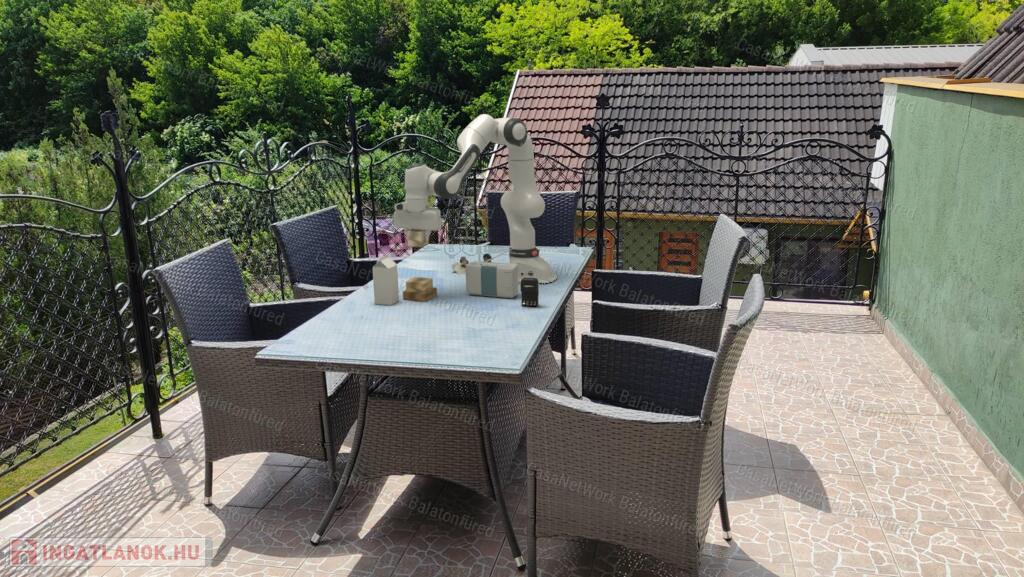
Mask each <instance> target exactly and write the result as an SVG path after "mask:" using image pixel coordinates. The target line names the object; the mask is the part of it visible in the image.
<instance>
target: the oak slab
mask: <svg viewBox="0 0 1024 577" xmlns="http://www.w3.org/2000/svg"><path fill="white" fill-rule="evenodd" d="M433 280H434V279H433V278H432V277H431V278H430V277H420V276H418V277H417V276H414V277H412V278H411V279H408V280H406V281H405V290H406V291H409V292H421V293H425V292H427V291H428V290H430V289H432V288H433V287H434V282H433Z"/></svg>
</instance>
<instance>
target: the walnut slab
mask: <svg viewBox="0 0 1024 577" xmlns="http://www.w3.org/2000/svg"><path fill="white" fill-rule="evenodd" d="M434 297H435V298H437V297H438V288H437V287H434V286H433V288H432V289H430V290H428V291H427V292H425V293H421V292H409V291H406V289H405V290H403V291H402V298H403V299H402V300H403V301H410V302H418V303H419V302H420V303H427V302H429V301H430V300H432V299H435V298H434Z"/></svg>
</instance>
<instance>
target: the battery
mask: <svg viewBox="0 0 1024 577" xmlns="http://www.w3.org/2000/svg"><path fill="white" fill-rule="evenodd" d="M519 287H520V292H521V293H520V294H521V306H522V307H526V306H537V307H538V306H539V305H540V304H539V303H540V302H539V301H540V300H539V298H540V284H539V280H538V278H536V277H523V278H522V280H521V283H520V286H519Z"/></svg>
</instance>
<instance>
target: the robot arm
mask: <svg viewBox="0 0 1024 577" xmlns="http://www.w3.org/2000/svg"><path fill="white" fill-rule="evenodd" d="M489 143H491V144H493V145H496V144H497V145H501V146H504V145H505V146H506V148H507V153H508V155H507V157H508V158H507V162H508V179H509V180H510V182H511V184H512V186H513V187H514V188H513V189H514V190H509V191H506V192H504V193H503V194H502V196H501V198H500V207H501V208H502V209H503V211H504V213H505V216H506V219H507V223H508V229H509V242H510V243H509V250H510V251H509V250H508V252H509V253H508V254H509V255H508V256H509V264H518V284H521V280H522V278H523V277H536V278H538V280H539V283H542V284H541V285H544V284H545V283H548V284H550V283H549V282H552V283H554V282H555V281H557V280H558V275H556V274H553V271H552V270H553V269H552V266H551V264H550V263H549V262H548V261H546V260H545V259H544V258H543V257H541V255H540V252H541V251H540V250H541V248H537V247H536V230H535V228H534V226H533V224H532V222H531V219H535V218H539V217H540V216H542V215H543V213H544V212H545V209H546V203H545V200H544V199H543V197H542V196H541V194H540V192H539V189H538V185H537V182H536V176H535V156H534V146H533V142H532V137H531V136H530V135H529V134H528V130H527V126H526V124H525V123H524V121H523V120H521V119H520V118H517V117H516V118H515V117H501V118H500V117H499V118H497V117H495V118H494V117H493V116H492V115H490V114H486V113H483V114H482V113H481V114H480V115H477V117H475V118H474V119H473V120H472V121H471V122H469V124H468V125H466V127H465V128H464V129H463V130H462V132H461V133H460V134H459V136H458V138H457V139H456V146H457V148H458V150H459V153H460V154H461V155H460V157H459V158H458V160H456V162H455V164H454V166H452V168H450V170H448V171H446V172H444V171H443V172H441V171H438V170H434V169H433V168H430V167H428V166H427V165H426V164H425V163H421V162H420V163H419V162H418V163H412V164H409V165H408V166H406V169H405V172H404V187H405V188H404V189H405V198H404V200H405V201H402V202H399V203H395V204H394V207H393V209H394V212H393V220H392V222H393V226H394V228H396V229H404V233H405V234H406V238H407V239H406V240H408V237H407V231H410V230H413V229H420V230H426V233H427V234H426V236H424V241H428V242H429V241H430V235H431V233H432V231H436V232H437V231H440V230H441V229H442V227H443V224H442V218H441V215H442V213H441V209H440V208H439V207H438V206H429V196H434V197H439V198H441V199H444V200H452V199H454V198H455V197H456V196H458V194H459V193H460V190H461V188H462V184H463V183H464V181H465V179H467V176H468V174H469V173H470V172H471V170H472V169H473V167H475V164H477V162H478V160H479V158H480V156H481V153H482V152H483V150H485V149H486V147H487V145H488V144H489ZM513 248H515V249H513ZM511 249H512V250H511ZM556 279H557V280H556ZM554 280H555V281H554ZM553 281H554V282H553ZM543 283H544V284H543ZM545 285H546V284H545Z"/></svg>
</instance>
